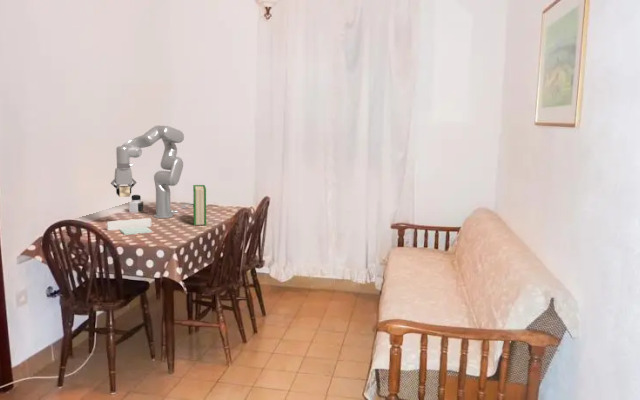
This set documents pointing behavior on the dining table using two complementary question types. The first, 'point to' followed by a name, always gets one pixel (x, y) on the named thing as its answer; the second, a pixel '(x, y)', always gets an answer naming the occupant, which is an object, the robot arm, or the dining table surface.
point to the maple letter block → (124, 191)
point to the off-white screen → (128, 224)
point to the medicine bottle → (136, 204)
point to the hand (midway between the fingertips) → (123, 194)
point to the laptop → (185, 206)
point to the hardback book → (199, 204)
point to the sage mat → (135, 230)
